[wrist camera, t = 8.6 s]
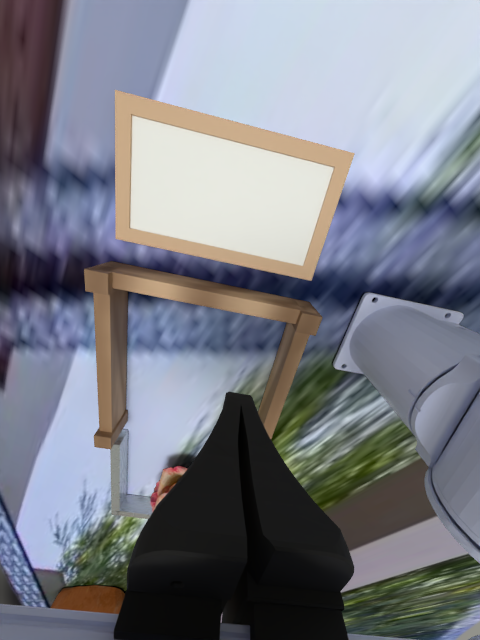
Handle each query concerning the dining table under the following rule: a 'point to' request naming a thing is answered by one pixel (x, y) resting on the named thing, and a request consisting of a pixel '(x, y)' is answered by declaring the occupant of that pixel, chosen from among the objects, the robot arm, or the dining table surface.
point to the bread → (90, 599)
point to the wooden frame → (120, 278)
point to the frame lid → (223, 187)
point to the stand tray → (125, 484)
